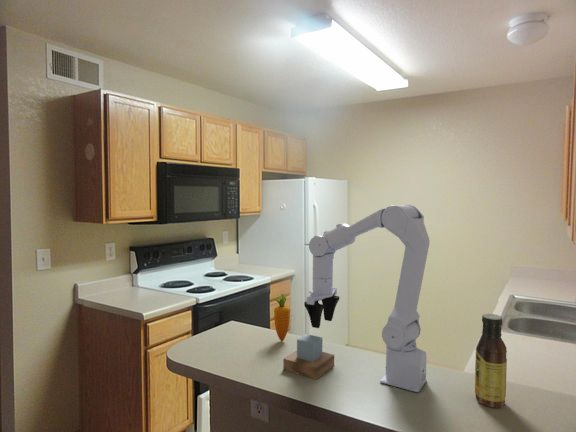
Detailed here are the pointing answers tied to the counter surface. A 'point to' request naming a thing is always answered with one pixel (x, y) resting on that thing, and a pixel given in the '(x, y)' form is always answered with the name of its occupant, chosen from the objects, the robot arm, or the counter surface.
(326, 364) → the walnut base
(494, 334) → the sauce bottle
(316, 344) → the slate-blue cube
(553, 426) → the counter surface
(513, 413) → the counter surface
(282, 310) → the carrot
